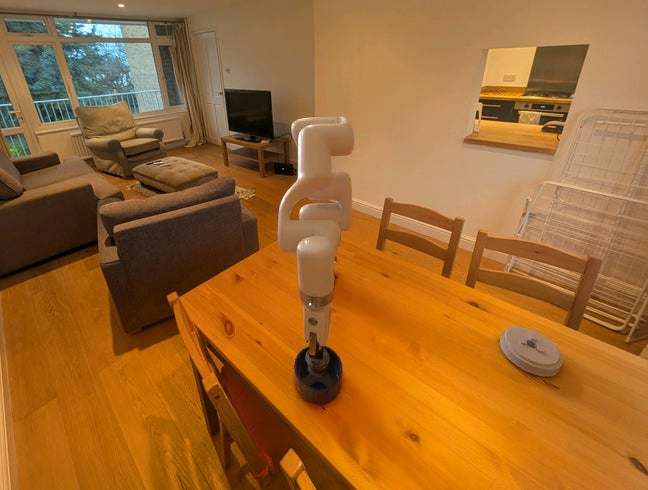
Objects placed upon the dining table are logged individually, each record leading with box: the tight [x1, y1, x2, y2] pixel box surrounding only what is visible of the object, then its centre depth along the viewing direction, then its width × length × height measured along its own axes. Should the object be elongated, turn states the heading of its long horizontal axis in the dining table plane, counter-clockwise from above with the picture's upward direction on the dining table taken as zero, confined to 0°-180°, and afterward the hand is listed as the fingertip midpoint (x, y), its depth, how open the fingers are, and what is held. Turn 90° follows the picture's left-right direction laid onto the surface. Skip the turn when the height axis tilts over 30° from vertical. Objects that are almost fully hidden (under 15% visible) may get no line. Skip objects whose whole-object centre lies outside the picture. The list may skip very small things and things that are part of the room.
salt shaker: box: [306, 341, 330, 378], centre depth 71 cm, size 6×6×12 cm
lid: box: [499, 325, 564, 378], centre depth 77 cm, size 13×13×5 cm
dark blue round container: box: [293, 345, 344, 406], centre depth 74 cm, size 12×12×6 cm
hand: (317, 348), depth 70 cm, fingers closed on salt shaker, 3 cm apart
